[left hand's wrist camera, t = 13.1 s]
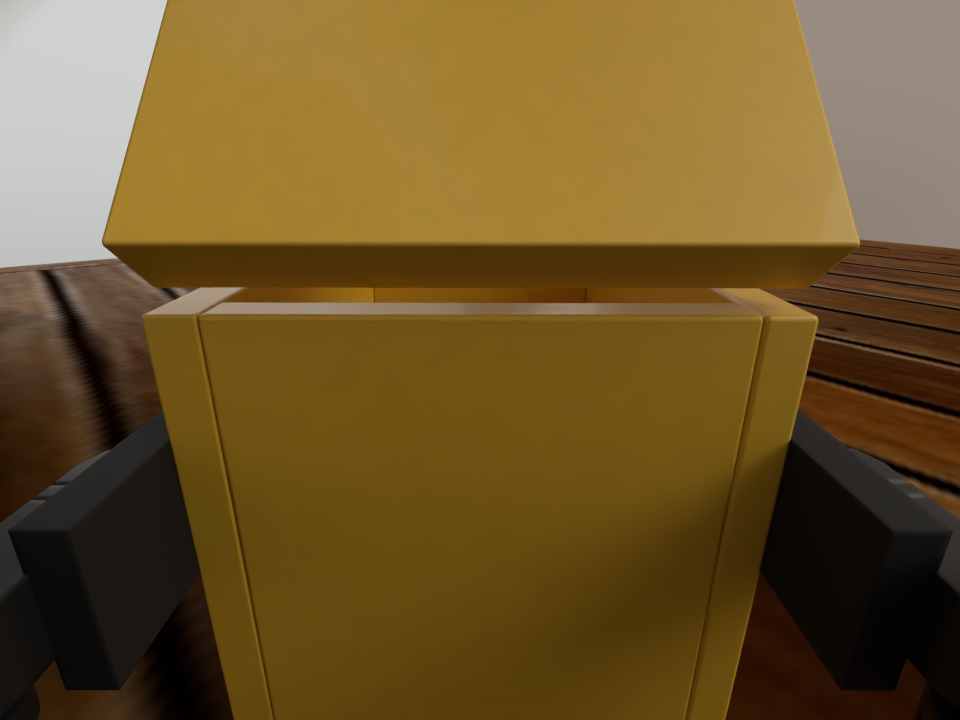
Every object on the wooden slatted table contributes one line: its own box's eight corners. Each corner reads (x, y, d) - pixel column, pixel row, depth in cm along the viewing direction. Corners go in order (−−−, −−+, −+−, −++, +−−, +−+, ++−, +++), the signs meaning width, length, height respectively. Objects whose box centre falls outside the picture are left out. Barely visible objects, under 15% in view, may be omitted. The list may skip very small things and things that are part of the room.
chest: (368, 432, 25) (351, 215, 21) (590, 432, 25) (608, 216, 21) (239, 753, 11) (139, 314, 8) (719, 753, 11) (822, 316, 8)
